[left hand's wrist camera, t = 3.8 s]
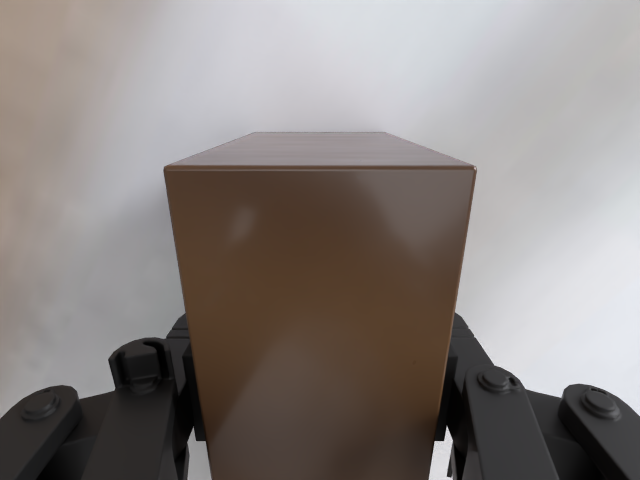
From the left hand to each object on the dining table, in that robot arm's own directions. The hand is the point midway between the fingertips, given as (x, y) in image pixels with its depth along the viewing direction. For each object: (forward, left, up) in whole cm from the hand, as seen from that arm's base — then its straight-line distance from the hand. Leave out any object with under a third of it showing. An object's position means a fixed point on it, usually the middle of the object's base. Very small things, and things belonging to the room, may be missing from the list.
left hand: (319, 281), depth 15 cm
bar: (+8, -26, -1) cm, 27 cm away
